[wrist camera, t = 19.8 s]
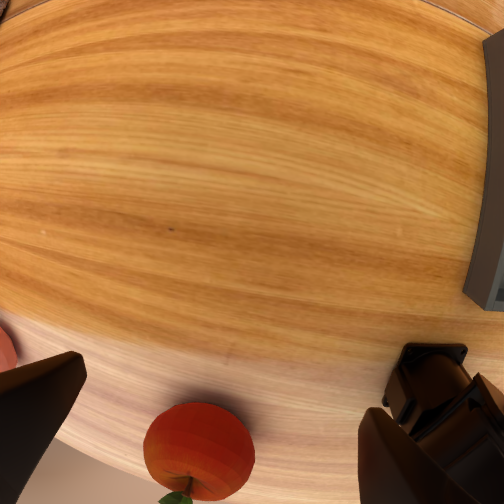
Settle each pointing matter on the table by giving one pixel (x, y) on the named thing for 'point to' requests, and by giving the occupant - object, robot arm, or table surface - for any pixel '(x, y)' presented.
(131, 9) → the table surface
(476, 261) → the tray
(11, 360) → the pink vase
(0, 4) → the mineral specimen
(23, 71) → the table surface
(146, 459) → the fruit
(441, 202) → the table surface
